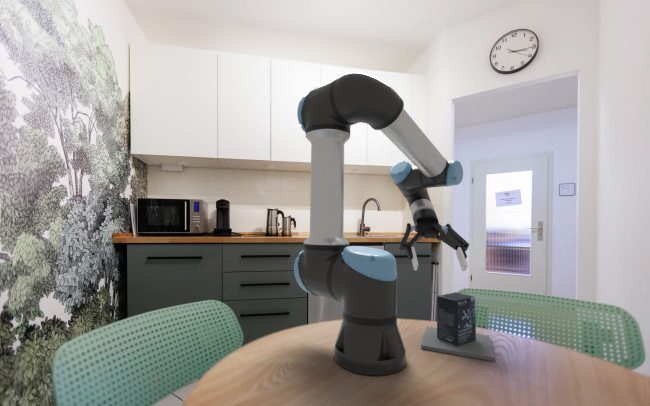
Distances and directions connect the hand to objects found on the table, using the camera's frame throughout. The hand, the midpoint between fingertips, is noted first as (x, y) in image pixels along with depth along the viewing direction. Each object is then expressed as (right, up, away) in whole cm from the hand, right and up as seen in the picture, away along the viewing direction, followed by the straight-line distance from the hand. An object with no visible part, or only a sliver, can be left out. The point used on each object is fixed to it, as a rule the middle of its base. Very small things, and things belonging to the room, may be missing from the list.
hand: (440, 268), depth 84 cm
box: (0, -15, -11) cm, 19 cm away
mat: (-1, -16, -11) cm, 19 cm away
